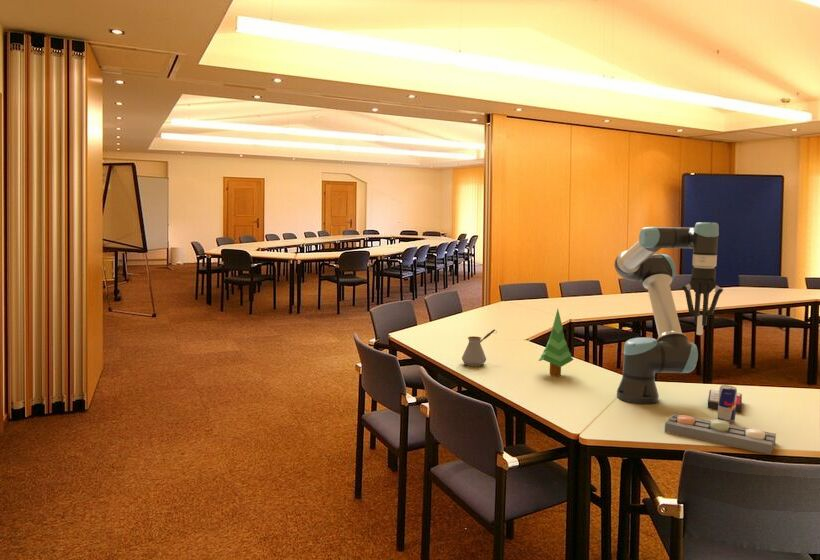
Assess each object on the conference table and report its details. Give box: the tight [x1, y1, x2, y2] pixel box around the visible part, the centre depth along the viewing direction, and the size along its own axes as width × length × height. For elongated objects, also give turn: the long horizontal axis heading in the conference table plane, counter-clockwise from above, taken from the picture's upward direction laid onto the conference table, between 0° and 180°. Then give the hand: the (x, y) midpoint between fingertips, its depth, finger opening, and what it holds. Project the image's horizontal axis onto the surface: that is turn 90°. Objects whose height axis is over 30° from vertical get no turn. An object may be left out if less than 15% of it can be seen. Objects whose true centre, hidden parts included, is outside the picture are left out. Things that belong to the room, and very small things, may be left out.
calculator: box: [707, 389, 743, 414], centre depth 225 cm, size 11×4×15 cm
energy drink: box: [717, 384, 738, 424], centre depth 207 cm, size 5×5×12 cm
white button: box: [745, 428, 766, 440], centre depth 185 cm, size 5×5×3 cm
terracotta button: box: [677, 414, 696, 426], centre depth 197 cm, size 5×5×3 cm
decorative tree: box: [538, 308, 574, 377], centre depth 263 cm, size 14×16×30 cm
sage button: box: [710, 419, 730, 433], centre depth 191 cm, size 5×5×3 cm
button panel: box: [664, 413, 777, 455], centre depth 192 cm, size 30×12×3 cm, turn 53°
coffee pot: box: [461, 328, 498, 367], centre depth 284 cm, size 21×12×15 cm, turn 134°
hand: (699, 334), depth 209 cm, fingers closed
